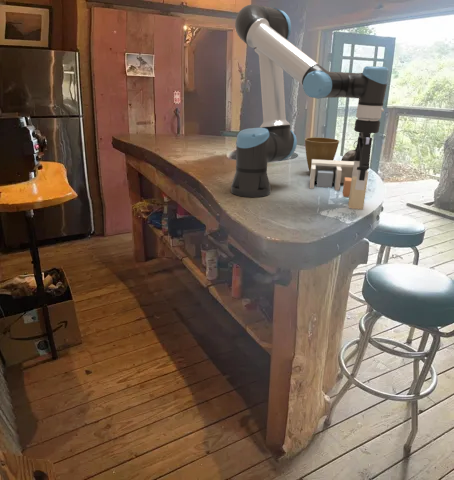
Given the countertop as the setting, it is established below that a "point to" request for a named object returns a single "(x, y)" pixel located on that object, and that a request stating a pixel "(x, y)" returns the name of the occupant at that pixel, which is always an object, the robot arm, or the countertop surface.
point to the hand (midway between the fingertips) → (357, 184)
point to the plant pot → (320, 149)
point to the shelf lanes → (339, 171)
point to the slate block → (324, 178)
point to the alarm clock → (349, 155)
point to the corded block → (354, 193)
